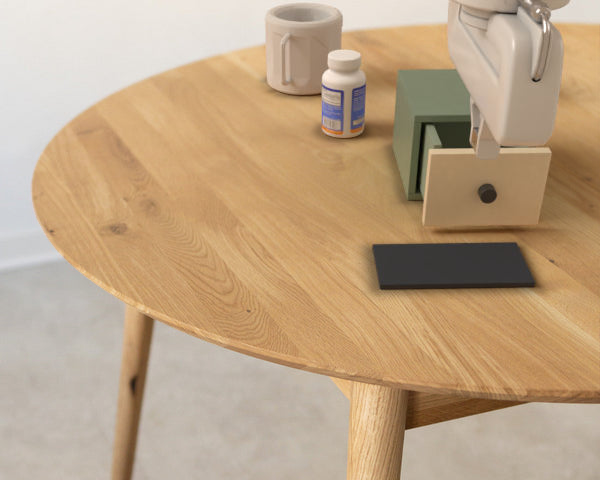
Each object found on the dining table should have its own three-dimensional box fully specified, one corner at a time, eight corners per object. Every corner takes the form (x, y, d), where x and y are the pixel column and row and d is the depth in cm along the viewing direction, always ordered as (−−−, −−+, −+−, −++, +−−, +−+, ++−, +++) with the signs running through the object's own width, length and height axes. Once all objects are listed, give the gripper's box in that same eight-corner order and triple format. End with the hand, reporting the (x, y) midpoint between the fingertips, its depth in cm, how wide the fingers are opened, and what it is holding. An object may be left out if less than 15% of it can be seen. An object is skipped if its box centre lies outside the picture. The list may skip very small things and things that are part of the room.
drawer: (541, 231, 77) (556, 158, 72) (425, 232, 76) (433, 159, 72) (507, 169, 88) (518, 102, 83) (406, 170, 88) (412, 104, 83)
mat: (515, 246, 76) (516, 241, 76) (534, 286, 70) (535, 282, 70) (372, 248, 76) (372, 244, 76) (379, 289, 70) (380, 284, 70)
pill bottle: (358, 120, 102) (361, 45, 96) (368, 137, 97) (372, 60, 92) (317, 123, 101) (318, 48, 95) (325, 140, 96) (327, 62, 91)
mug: (283, 66, 119) (282, -2, 113) (350, 75, 116) (353, 5, 110) (246, 97, 108) (243, 24, 103) (319, 108, 105) (320, 32, 99)
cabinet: (523, 198, 84) (539, 113, 78) (407, 200, 84) (414, 115, 78) (495, 145, 95) (507, 68, 90) (392, 147, 95) (397, 69, 89)
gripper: (604, 12, 47) (559, 214, 55) (518, -57, 64) (493, 106, 72) (500, 12, 47) (470, 214, 55) (442, -57, 64) (425, 106, 72)
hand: (483, 152), depth 63 cm, fingers closed
